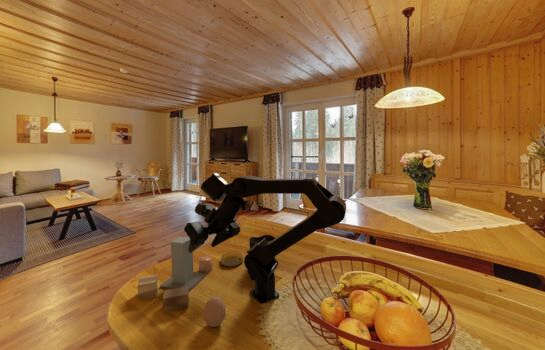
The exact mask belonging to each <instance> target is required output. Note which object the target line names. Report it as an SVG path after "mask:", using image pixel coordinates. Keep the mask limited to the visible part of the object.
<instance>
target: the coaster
mask: <svg viewBox="0 0 545 350" xmlns="http://www.w3.org/2000/svg"><path fill="white" fill-rule="evenodd" d="M206 276H207V273H200V272H199V271H194V277H193V278H191V279H190V280H189V281H188V282H187V283H186V284H182V283H176V282H173V278H172V276H170V277H169V278H168V279H166V280H165V281H164V282H162V283H161V284H160V285H159V289H160V288H161V289H165V290H168V289H174V288H180V287H186V286H188V290H189V292H190V291H192V290H193V288H195V287H196V286H197V285H198V284H199V283H200V282H201V281H202V280H203V279H204V278H206Z"/></svg>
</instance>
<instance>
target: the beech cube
mask: <svg viewBox="0 0 545 350" xmlns="http://www.w3.org/2000/svg"><path fill="white" fill-rule="evenodd" d="M158 290H159V279H158V274H152V275H146V276H141V277H139V281H138V283H137V294H138V295H137V296H138V301H142V300H146V299H152V298H157V296H158V292H159V291H158Z"/></svg>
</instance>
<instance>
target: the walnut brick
mask: <svg viewBox="0 0 545 350" xmlns="http://www.w3.org/2000/svg"><path fill="white" fill-rule="evenodd" d="M189 293H190V291H189V290H188V286H186V287H180V288H174V289H165V290H164V293H163V296H162V310H163V311H162V312H163V314H165V313H171V312H175V311H176V312H177V311H181V310H186V309H187V310H188V309H189V306H190V305H189V301H190V296H189V295H190V294H189Z"/></svg>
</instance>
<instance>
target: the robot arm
mask: <svg viewBox="0 0 545 350" xmlns="http://www.w3.org/2000/svg"><path fill="white" fill-rule="evenodd" d="M200 190H201V191H203V193H205V194H206V195H207V196H208V197H209V198H210V199H211V200H212V201H214V202H221V203H220V204H219V205H218V207H217V206H215V205H214V204H211V203H203V202H198V203H197V205H196V206H195V207H194V213H195V214H197V215H198V216H202V217H203V218H204V222H205V224H207V226H204V225H203V224H202V222H201V221H194V222H193V221H192V222H187V223H186V224H185V226H184V228H183V231H184V233H185V234H186V235H187V238H190V243H189V249H188V251H189V253H192V252H195V251H196V250H198V249H199V248H200V247H201V246H203V245H204V244H206V243H205V242H207V240H208V239H209V236H210V235H215V236H214V238H213V240H212V242H211V243H210V247H212V248H214V247H216V246H218V245H220V244H223V243H224V242H227V241H228V240H230V239H231V238H234V237H235V236H238V235H239V233H240V232H241V227H240V225H239V224H238V223H237V222H236V221H237V219H236V217H237V215H238V213H240V211H241V210H243V211H244V212H245V211H248V210H250V209H251V204H250V200H249V199H244V198H249V197H253V196H258V195H263V194H265V195H266V194H270V195H271V194H277V195H278V194H279V195H280V194H283V195H285V194H286V195H287V194H291V195H292V194H295V195H296V194H297V195H298V194H299V195H300V194H301V195H302V194H304V195H305V196H306V198H307V199H308V200H309V201H310V202H311V203H312V204H313V206H314V207H315V210H314V211H313V212H312V213H311V214H310V215H309V216H307V217H306V218H304V219H303V220H301V221H300V222H298V223H296V224H295V225H293V226H292V227H291V228H289V229H287V230H286V231H285V232H283V233H282V234H280V235H279V236H277V237H275V239H274V240H272V241H268V242H267V240H266V238H264V239H263V240H262V241H261V242H259V243H256V244H255V245H254V246H253V247H252V248H250V247H249V249H248V250H246V255H245V256H244V257H243V264H244V267H245V268H246V270H247V272H248V276H249V278H250V281H253V289H252V290H249V295H251V297H253V298H254V299H255V300H256V301H257V302H258V303H259V304H260V305H263V304H264V303H266V302H268V301H271V299H272V300H273V299H276V298H278V297H280V296H279V295H280V292H278V291H277V290H276V277H275V271H276V270H277V268H278V266H279V262H278V260H277V259H276V256H278V255H279V254H281V253H283V252H284V251H286V250H287V249H289V248H291V247H293V246H295V244H297V243H299V242H300V241H302V240H303V239H305V238H307V237H308V236H310V235H312V234H313V233H314V232H317V231H319V230H324V229H327V228H330V227H334V226H335V225H337V224H340V223H341V222H343V221H344V219H345V217H346V212H347V204H346V202H345V200H344V199H343V198H342V197H340V196H336V195H335V194H333V193H332V192H331V191H330V190H328V188H326V187H324V185H322V184H320V183H319V182H318V180H317V179H315V178H314V177H309V176H308V177H304V178H303V177H301V178H298V177H297V178H262V177H260V176H254V175H248V174H247V175H244V176H239V177H238V176H237V177H235V178H234V179H233V180H232V181H231V182H227V181H226V179H224V178H222V176H221V175H220V174H219V173H217V172H214V173H212V174H211V176H209V177H208V178H207V179H205V180H204V181H203V182H202V183H201V185H200ZM274 257H275V258H274ZM277 296H278V297H277ZM275 297H276V298H275Z"/></svg>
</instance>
